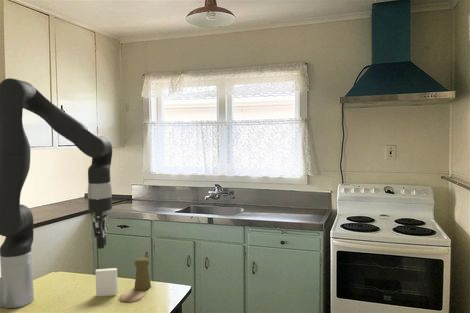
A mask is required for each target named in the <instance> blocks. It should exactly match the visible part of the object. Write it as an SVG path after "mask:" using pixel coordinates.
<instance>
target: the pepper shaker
mask: <svg viewBox="0 0 470 313" xmlns="http://www.w3.org/2000/svg"><path fill="white" fill-rule="evenodd" d="M149 265H150V260H149V258H148V257H145V256H143V257H141V256H140V257H138V258H136V259H135V261H134V266H135V268H136V270H135V279H134V280H135V281H134V291H141V292H143V291H147V290H149V289H151V288H152V284H151V278H150V273H149Z"/></svg>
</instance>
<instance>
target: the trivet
mask: <svg viewBox="0 0 470 313" xmlns="http://www.w3.org/2000/svg"><path fill="white" fill-rule="evenodd" d="M144 294H145V293H144V292H143V291H138V290H129V291H125V292H123V293H122V294H120V296H119V299H120V300H119V301H121V302H122V303H123V302H124V303H134V302H139V301H140V300H142V299H143V298H144Z"/></svg>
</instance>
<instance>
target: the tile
mask: <svg viewBox="0 0 470 313" xmlns="http://www.w3.org/2000/svg"><path fill="white" fill-rule="evenodd" d="M118 282H119V281H118V268H117V267H111V268H110V267H109V268H99V269H97V268H96V269H95V292H96V293H95V294H96V295H95V296H96V297H106V296H107V297H108V296H117V295H118V294H119V291H118V290H119V288H118V286H119V284H118Z"/></svg>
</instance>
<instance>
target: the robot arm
mask: <svg viewBox="0 0 470 313" xmlns="http://www.w3.org/2000/svg"><path fill="white" fill-rule="evenodd" d="M23 109H24V110H26V111H29V112H31V113H33V114H35V115H37V116H39V117H40V118H41V119H42V120H44V121H45V123H47V125H48V126H50V128H51V129H52V130H54V132H56V133H57V134H59V135H60V136H61V137H63V138H64V139H66V140H67V141H69V142H71V143H72V144H74V146H75V147H76V148H77V149H78V150H79V151H81V153H83V154H84V155H86V156H87V157H89V158H91V165H89V167H88V169H87V182H88V184H87V203H88V204H87V205H88V206H87V207H88V209H87V210H88V211H89V212H91V213H92V212H94V213H95V214H94V216H93V222H92V229H93V234H94V235H93V236H94V238H96V245H97V246H96V249H104V248H105V246H106V245H107V234H108V233H107V232H108V230H109V229H108V228H109V227H108V226H109V224H108V223H109V213H107V212H108V211H111V210H113V196H112V195H113V191H112V182H111V164H112V159H113V158H112V157H113V145H112V143H111V141H110V139H109V138H108V137H106V136H101V135H100V136H98V135H95V134H94V133H92V132H91V131H89V129H88V127H87V126H86V125H85V124H84V123H82V122H81V121H79V120H77V119H76V118H74V117H73V116H72V115H70V114H68V112H65V111H64V110H62V109H61V108H59V107H58V106H57V105H55V104H54V103H52V102H51V101H50V100H49V99H48V98H47V97H46V96H44V95H43V94H42V93H41V91H39V90H38V89H37V88H36V87H35V85H32V83H29V82H27V81H25V80H20V79H18V78H17V79H16V78H11V77H10V78H9V77H8V78H4V79H3V80H2V81H1V82H0V236H2V237H5V238H4V239H3V240H4V241H3V243H1V245H0V276H1V277H0V308H7V309H15V308H20V307H24V306H27V305H29V304H31V303H32V302H33V301H34V295H35V294H34V278H33V277H34V276H33V254H32V245H33V243H34V242H33V241H34V216H33V212H32V210H31V209H30V208H29V207H28V206H26V205H25V204H21V194H22V190H23V187H24V184H25V182H26V180H27V177H28V174H29V172H30V169H31V168H30V167H31V145H30V143H29V140H28V139H29V138H28V136H27V134H26V132H25V128H24V124H23Z"/></svg>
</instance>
